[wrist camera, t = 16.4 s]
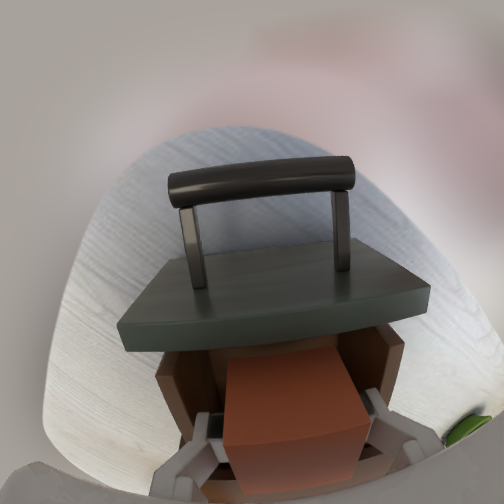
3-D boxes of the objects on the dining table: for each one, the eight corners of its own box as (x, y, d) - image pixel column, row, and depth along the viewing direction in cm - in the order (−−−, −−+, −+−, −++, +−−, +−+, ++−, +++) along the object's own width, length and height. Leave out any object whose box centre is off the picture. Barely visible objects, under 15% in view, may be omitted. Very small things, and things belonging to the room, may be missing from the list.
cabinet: (193, 374, 19) (172, 478, 10) (353, 354, 19) (402, 446, 10) (225, 462, 23) (223, 531, 14) (337, 448, 23) (357, 514, 14)
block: (228, 358, 11) (221, 445, 6) (334, 344, 11) (372, 421, 6) (242, 422, 12) (242, 495, 7) (328, 410, 12) (351, 479, 7)
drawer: (156, 181, 15) (82, 187, 7) (351, 160, 15) (434, 153, 7) (210, 412, 19) (201, 490, 12) (345, 395, 19) (374, 466, 12)
